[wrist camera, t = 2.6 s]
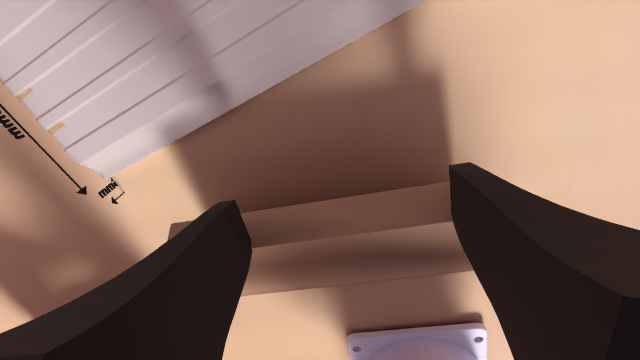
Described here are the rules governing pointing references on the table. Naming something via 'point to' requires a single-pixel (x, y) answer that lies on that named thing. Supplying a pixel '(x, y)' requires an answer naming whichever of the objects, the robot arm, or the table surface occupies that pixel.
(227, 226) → the robot arm
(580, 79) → the table surface
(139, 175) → the table surface
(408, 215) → the plank
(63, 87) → the baseboard
